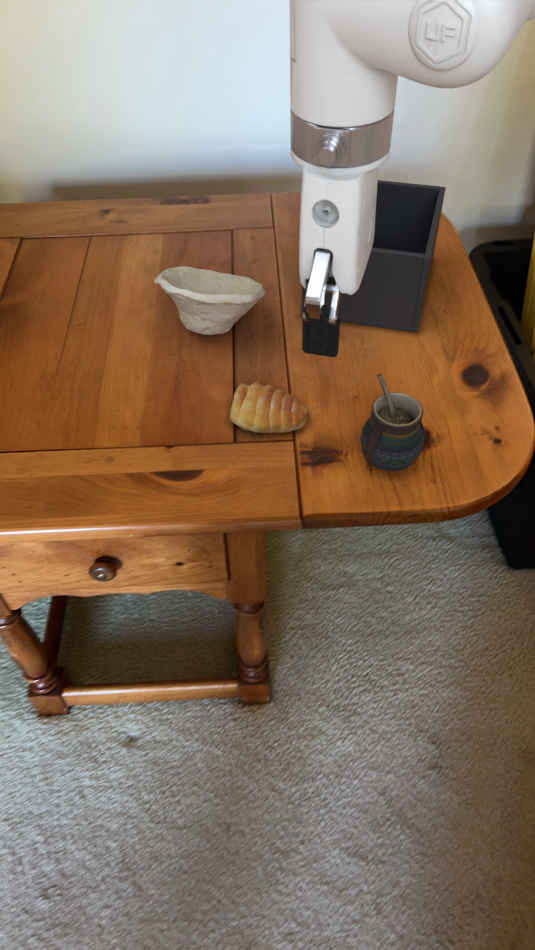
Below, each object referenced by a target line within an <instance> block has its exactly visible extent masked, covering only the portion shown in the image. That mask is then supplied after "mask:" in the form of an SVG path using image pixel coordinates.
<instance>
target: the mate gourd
mask: <svg viewBox="0 0 535 950" xmlns="http://www.w3.org/2000/svg"><path fill="white" fill-rule="evenodd" d="M376 377H377V379H378V382H379V385H380V387H381V389H382V392H383V394H381V395H379V396H378V397H376V398H375V400H373V402H372V404H371V405H372V406H371V412H370V413H371V414H370V417H369V418H368V419H367V420H366V421H365V423H364V425H363V427H362V430H361V434H360V445H361V449H362V453H363V455H364V458H365V460H366V461H367V463H369V465H371V467H372V468H374V469H378V470H381V471H385V472H391V473H395V472H400V471H404V470H406V469H408V468H410V467H411V466H413V465H414V463H416V461H417V459H418V458H419V456H420V455H421V453H422V451H423V448H424V445H425V437H426V434H425V433H426V432H425V428H424V424H423V415H424V408H423V405H422V404H421V402H420V401H419V400H418V399H417V398H415V397H414V396H412V395H410V394H407V393H404V392H396V391H395V392H394V391H393V392H392V391H391V392H389V390H388V387H387V384H386V382H385V380H384V378H383V376H382V372H379V373H378V374H376Z"/></svg>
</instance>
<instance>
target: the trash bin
mask: <svg viewBox="0 0 535 950" xmlns="http://www.w3.org/2000/svg"><path fill="white" fill-rule="evenodd" d="M446 189H447V188H446V186H439V185H431V184H422V183H421V184H420V183H412V182H411V183H410V182H400V181H392V180H389V181H388V180H382V179H381V180H380V179H378V183H377V198H376V215H375V232H374V241H373V245H372V249H371V252H370V256H369V259H368V262H367V265H366V269H365V272H364V275H363V278H362V281H361V284H360V286H359V289H358V291H357V293H355V294H352V295H348V294H345V293H341V295H340V301H339V307H338V313H337V317H339V318H340V323H346V324H347V323H348V324H354V325H361V326H368V327H373V328H381V329H388V330H395V331H403V332H409V333H418V331H419V326H420V321H421V318H422V312H423V307H424V303H425V299H426V293H427V288H428V285H429V279H430V275H431V271H432V265H433V261H434V255H435V249H436V244H437V240H438V233H439V229H440V228H439V227H440V221H441V217H442V216H441V215H442V211H443V206H444V200H445V194H446ZM306 291H307V289H305V288H304V287H303V286H302V285H301V316H302V317H303V310H304V304H305V297H306ZM332 295H333V293H329V292H325V294H324V305H327V306H328V307H329V308H330V307H331V301H332Z"/></svg>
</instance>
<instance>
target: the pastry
mask: <svg viewBox="0 0 535 950" xmlns="http://www.w3.org/2000/svg"><path fill="white" fill-rule="evenodd" d="M308 413H309V407H308V406H307V405H306V404H305V402H304V401H302V400H300V399H299V398H297V396H296V395H295V394H290V393H288V392H287V391H286V390H285V389H283V388H281V389H279V388H277V387H276V386H273V385H272V384H266V385H264V384H263V383H261V382H259V381H254V382H253V383H252V384H250V385H249V384H245V383H240V384H239V385H238V386H237V388H236V390H235V391H234V394H233V400H232V403H231V407H230V413H229V420H230V422H231V423H233V424H234V425H236V426H238V427H239V428H240V429H242V430H244V431H250V432H253V433H261V434H263V433H266V434H267V433H268V434H273V433H277V434H278V433H283V434H284V433H289V432H290V433H291V432H293V431H296V430H300V429H302V428H303V427H304V426H305V424H306V422H307V418H308Z"/></svg>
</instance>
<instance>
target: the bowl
mask: <svg viewBox="0 0 535 950" xmlns="http://www.w3.org/2000/svg"><path fill="white" fill-rule="evenodd" d="M153 283H154V284H156V285H158V286H159V287H160V288H161V289H162V291H163V292H164V293H165V294H166V295H168V296H169V297H170V298H171V299H172V301H173V303H174V304H175V306H176V308H177V311H178V318H179V319H180V321H181V323H182V325H183V326H184V327H185V329H186V330H188V331H190V332H193V333H196V334H200V335H204V336H205V335H206V336H213V335H223V334H226V333H227V332H229V331H230V330H231V329H232V328H233V326H234V325H235V323H237V322H238V321H239V320H240V319H241V318H242V317H243V316H245V315H246V314H247V313H248V312H249V311H250V310H251V309H252V308H253V307H254V306H255V305H256V304H257V303H258V302H259V300H260V299H261V298H262V297H264V296H265V295H266V291H265V289H264V287H263V284H261V283H259V282H257V281H255V280H254V279H252V278H251V277H248V276H243V275H242V276H241V275H236V274H231V273H228V272H227V273H224V272H218V271H214V270H211V269H203V268H202V269H201V268H196V267H191V266H185V265H182V266H181V265H180V266H175V267H168V268H166V269H164V270H163V271H161V273H160V274H158V275H157V277H155V278H154V279H153Z"/></svg>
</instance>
